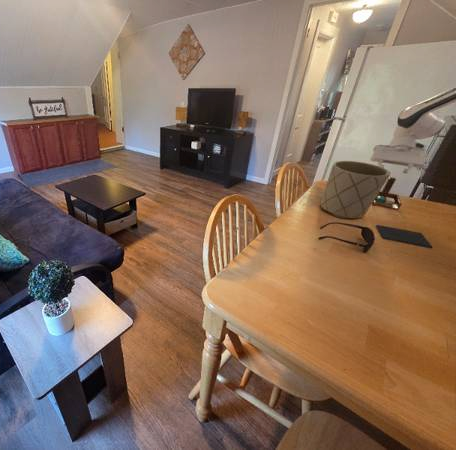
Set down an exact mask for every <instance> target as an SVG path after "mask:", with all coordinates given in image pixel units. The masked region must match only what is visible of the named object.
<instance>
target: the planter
mask: <svg viewBox="0 0 456 450" xmlns="http://www.w3.org/2000/svg"><path fill="white" fill-rule="evenodd" d="M389 177H391V172H390V170H388V169H387V168H385V167H384V168H382V167H379V165H375V164H371V163H367V162H361V161H354V160H340V161H335V162H334V163H332V166H331V169H330V172H329V176H328V178H327V181H326V184H325V188H324V191H323V194H322V197H321V199H320V207H321V208H322V209H323V210H325V211H326V212H328V213H330V214H332V215H333V216H334V217H335V218H340V219H341V218H342V219H362V218H364V217H365V215H366V214H367V212H368V211H369V209H370V208H371V206H372V205H373V204H372V203H373V201H374V200H375V198H376V196H377V195H378V193H379V192H380V191H382V189H383V188H384V186H385V184H386V182H387V180H388V178H389Z"/></svg>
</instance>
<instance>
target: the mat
mask: <svg viewBox="0 0 456 450" xmlns="http://www.w3.org/2000/svg"><path fill="white" fill-rule="evenodd" d="M376 228H377V230H378V232H379V234H380V236H381V237H382V239H383V240H387V241H388V240H389V241H393V242H398V243H403V244H408V245H412V246H417V247H418V246H419V247H423V248H428V249H433V246H432V244H431V243H430V241H428V239H427V237H425V236H424V234H423V233H422V232H418V231H413V230H409V229H403V228H397V227H391V226H385V225H380V224H376Z"/></svg>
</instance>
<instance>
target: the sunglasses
mask: <svg viewBox="0 0 456 450" xmlns="http://www.w3.org/2000/svg"><path fill="white" fill-rule="evenodd" d="M329 225H341V226H347V227H351V228H356V229H359V230H361V232H360V234H361V238H362V239H363V240H364V242H365V243H366V244H364V243H359V242H355V241H351V240H347V239H343V238H339V237H334V236H331V235H324V236H319V237H318V240H324V239H333V240H336V241H339V242H343V243H346V244H350V245H353V246H356V247H359V248H363V250H362V251H363V253H366V254H367V253H368V252H369V251H370V249H372V247H373V246H374V244H375V243H374V242H375V241H376V237H375V232H374V231H373V229H371V228H370V227H367V226H363V225H359V224H353V223H346V222H338V221H337V222H336V221H332V222H327V223H326V224H323V225H321V226H320V227H319V230H323V229H325V228H326V227H327V226H329Z"/></svg>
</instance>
